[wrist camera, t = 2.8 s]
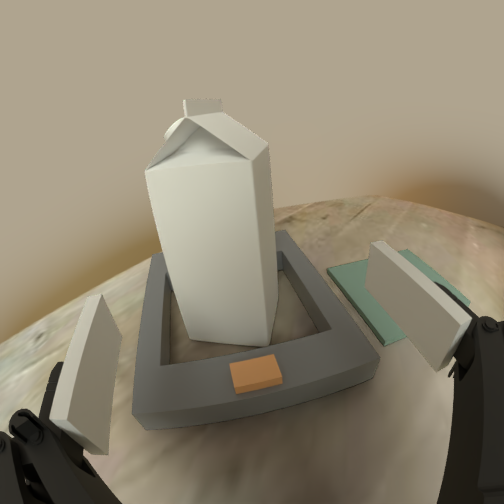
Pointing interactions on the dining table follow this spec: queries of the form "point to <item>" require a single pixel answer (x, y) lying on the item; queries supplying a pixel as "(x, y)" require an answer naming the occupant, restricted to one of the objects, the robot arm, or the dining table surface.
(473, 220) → the dining table surface
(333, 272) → the felt pad
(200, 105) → the milk carton
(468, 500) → the robot arm
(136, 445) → the dining table surface
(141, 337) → the grey open frame
